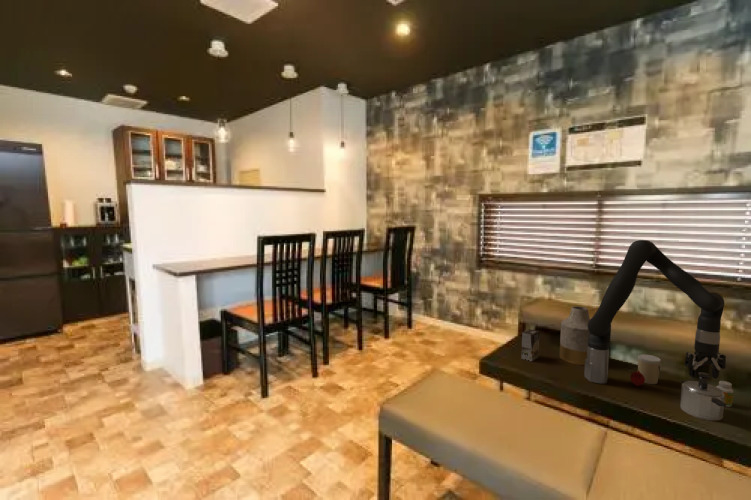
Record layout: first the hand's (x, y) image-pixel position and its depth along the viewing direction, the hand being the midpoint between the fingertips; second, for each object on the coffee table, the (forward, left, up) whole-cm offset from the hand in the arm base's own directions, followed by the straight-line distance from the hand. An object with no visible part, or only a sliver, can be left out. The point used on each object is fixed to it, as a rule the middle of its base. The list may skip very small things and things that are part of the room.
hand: (703, 377), depth 149 cm
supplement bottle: (+15, +7, -16) cm, 23 cm away
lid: (0, 0, -5) cm, 5 cm away
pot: (0, 0, -15) cm, 15 cm away
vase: (-25, +54, -16) cm, 62 cm away
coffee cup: (-3, +28, -16) cm, 32 cm away
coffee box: (-52, +54, -16) cm, 77 cm away
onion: (-12, +22, -16) cm, 29 cm away
